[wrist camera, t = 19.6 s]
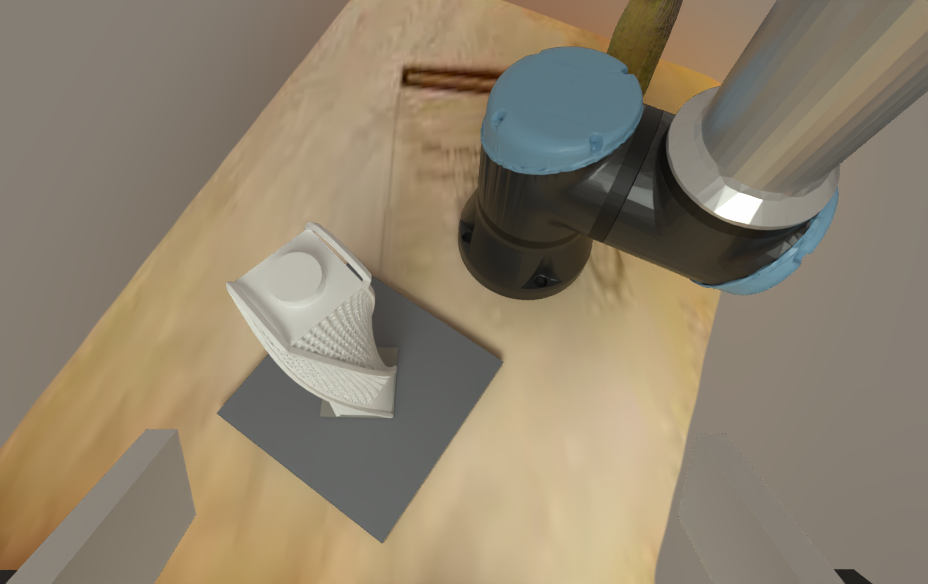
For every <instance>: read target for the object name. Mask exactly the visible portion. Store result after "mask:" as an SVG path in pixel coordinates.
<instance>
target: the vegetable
mask: <svg viewBox="0 0 928 584" xmlns="http://www.w3.org/2000/svg"><path fill="white" fill-rule="evenodd" d="M682 1H683V0H630V1H629V3H628V5H627V7H626V8H625V10H624V12H623V14H622V16H621V18H620V20H619V22H618V24H617V26H616V28H615V31H614V34H613V37H612V39H611V42H610V45H609V48H608V51H607V54H608V55H610V56H612V57H614V58H616V59H618V60H620V61H621V62H622V63H624V64H625V65H626V66H627V67H628V72H627V73H628V74H634V75H635V77H636V78H637V79H638V81H639V84H640V86H641V90H642V97H643V96H644V94H645V92H646V90H647V88H648V86H649V83H650V80H651V78H652V75H653V73H654V70H655V68H656V66H657V64H658V61H659V59H660V56H661V54H662V52H663V49H664V47H665V45H666V43H667V40H668V38H669V36H670V33H671V30H672V28H673V25H674V23H675V21H676V19H677V16H678V13H679V10H680V7H681V5H682Z"/></svg>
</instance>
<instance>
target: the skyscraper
mask: <svg viewBox="0 0 928 584" xmlns="http://www.w3.org/2000/svg"><path fill="white" fill-rule="evenodd" d="M312 230H313V231H315V232H316V233H317V234H319V235H320V236H321V237H322V238H323V239H324V240H326V241H327V242H328V243H329V244H330V245H331V246H332V247H333V248H334V249H335V250H336V251H337V252H338V253H339V254H340V255H341V256H342V257H343V258H344V259H345V260H346V261H347V262H348V263H349V264H350V265H351V266H352V267H353V268H354V269H355V270H356V271H357V273H358V274H359V275H360V276H361V277H362V278H363V281H361V280H360V279H359V278H358V277H357V276H356V275H355V274H354V273H353V272H352V271H351V270H350V269H349V268H348V267H347V266H346V265H345V264H344V263H343V262H342V261H341V260H340V259H339V258H338V257H337V256H336V255H335V253H334V252H333V251H332V250H331V249H330V248H329V247H328V246H327V245H326V244H325V243H324V242H323V241H322V240H321V239H320V238H319V237H318V236H317V235H316V234H315V233H314V232H313V231H312ZM371 276H372V275H371V273H370V272H369V271H368V269H367V268H366V267H365V266H364V265H363V264H362V263H361V262H360V261H359V260H358V259H357V258H356V256H355V255H354V254H353V253H352V252H351V251H350V250H349V249H348V248H347V247H345V246H344V245H343V244H342V243H341V242H340V241H339V240H338V239H337V238H336V237H335V236H334V235H333V234H331V233H330V232H329V231H328V230H327V229H325V228H324V227H323V226H321V225H320V224H318V223H312V222H307V223H306V225H305V229H304V231H303V232H302V233H300V234H299V235H298V236H296V237H295V238H293V239H292V240H291V241H289V242H288V243H287V244H285V245H284V246H283V247H281V248H280V249H278V250H277V251H276V252H274V253H273V254H272V255H270V256H269V257H268V258H266V259H265V260H264V261H262V262H261V263H259V264H258V265H257V266H255V267H254V268H253V269H251V270H250V271H249V272H247V273H246V274H244V275H243V276H242V277H240V278H239V279H238V280H236V281H235V282H228V281H227V284H226V289H227V290H228V292H229V293H230V295H231V297H232V298H233V300H234V302H235V303H236V305H237V307H238V308H239V310H240V312H241V313H242V315H243V316H244V318H245V320H246V321H247V323H248V324H249V326H250V328H251V329H252V331H253V332H254V334H255V335H256V337H257V338H258V339H259V341H260V342H261V344H262V345H263V347H264V348H265V350H266V351H267V352H268V353H269V355H270V356H271V357H272V358H273V360H274V361H275V362H276V363H277V364H278V365H279V367H280V368H281V369H282V370H283V371H284V372H285V373H286V374H287V375H288V376H289V377H291V378H292V379H293V380H294V381H295V382H296V383H298V384H299V385H300V386H302V387H303V388H305V389H306V390H308V391H309V392H311V393H313V394H314V395H316V396H318V397H320V398H322V403H321V411H320V417H349V418H394V405H395V390H396V375H397V360H398V348H394V347H376V345H375V341H374V336H373V330H372V314H373V311H374V306H375V293H374V290H373V288H372V286H371V285H370V283H371Z"/></svg>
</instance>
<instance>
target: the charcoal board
mask: <svg viewBox="0 0 928 584" xmlns="http://www.w3.org/2000/svg"><path fill="white" fill-rule="evenodd" d="M346 266H347V267H348V268H349V269H350V270H351V271H352V272H353V273H354V274H355V275H356V276H357V277H358V278H359V279H360V280H361V281H363V278H362V277H361V276H360V275H359V274H358V273H357V271H356V270H355V269H354V268H353V267H352V266H351V265H350V264H349V263H348V264H347V265H346ZM370 285H371V286H372V288H373V290H374V293H375V306H374V311H373V314H372V330H373V336H374V341H375V345H376V347H394V348H398V360H397V375H396V390H395V405H394V418H349V417H320V411H321V403H322V398H320V397H318V396H316V395H314V394H313V393H311V392H309V391H308V390H306V389H305V388H303V387H302V386H300V385H299V384H298V383H296V382H295V381H294V380H293V379H292V378H291V377H289V376H288V375H287V374H286V373H285V372H284V371H283V370H282V369H281V368H280V367H279V365H278V364H277V363H276V362H275V361H274V360H273V358H272V357H271V356H270V355H269V354H268V355H267V356H266V357H265V358H264V360H263V361H262V362H261V363H260V364H259V365H258V367H257V368H256V369H255V370H254V371H253V372H252V373H251V375H250V376H249V377H248V378H247V379H246V380H245V381H244V383H243V384H242V385H241V386H240V387H239V388H238V389H237V391H236V392H235V393H234V394H233V395H232V396H231V397H230V399H229V400H228V401H227V402H226V403H225V404H224V405H223V407H222V408H221V409H220V410H219V411H218V412H217V414H218V415H219V416H221V417H222V418H223V419H225V420H226V421H227V422H228V423H230V424H231V425H232V426H233V427H235V428H236V429H237V430H238V431H240V432H241V433H242V434H244V435H245V436H246V437H247V438H249V439H250V440H251V441H252V442H254V443H255V444H256V445H258V446H259V447H260V448H261V449H263V450H264V451H265V452H266V453H268V454H269V455H270V456H272V457H273V458H274V459H275V460H277V461H278V462H279V463H280V464H282V465H283V466H284V467H286V468H287V469H288V470H289V471H291V472H292V473H293V474H294V475H296V476H297V477H298V478H299V479H301V480H302V481H303V482H305V483H306V484H307V485H308V486H310V487H311V488H312V489H313V490H315V491H316V492H317V493H319V494H320V495H321V496H322V497H324V498H325V499H326V500H327V501H329V502H330V503H331V504H333V505H334V506H335V507H336V508H338V509H339V510H340V511H341V512H343V513H344V514H345V515H347V516H348V517H349V518H350V519H352V520H353V521H354V522H355V523H357V524H358V525H359V526H360V527H362V528H363V529H364V530H366V531H367V532H368V533H369V534H371V535H372V536H373V537H374V538H376V539H377V540H378V541H380V542H381V543H384V542H385V540H386V539H387V537H388V536H389V534H390V533H391V531H392V530H393V528H394V527H395V525H396V524H397V522H398V521H399V519H400V518H401V516H402V515H403V513H404V512H405V510H406V509H407V507H408V506H409V504H410V503H411V501H412V500H413V498H414V497H415V495H416V494H417V492H418V491H419V489H420V488H421V486H422V485H423V483H424V482H425V480H426V479H427V477H428V476H429V474H430V473H431V471H432V470H433V468H434V467H435V465H436V464H437V462H438V461H439V459H440V458H441V456H442V455H443V453H444V452H445V450H446V449H447V447H448V446H449V444H450V443H451V441H452V440H453V438H454V437H455V435H456V434H457V432H458V431H459V429H460V428H461V426H462V425H463V423H464V422H465V420H466V419H467V417H468V416H469V415H470V413H471V412H472V410H473V409H474V407H475V406H476V404H477V403H478V401H479V400H480V398H481V397H482V395H483V394H484V392H485V391H486V389H487V388H488V386H489V385H490V383H491V382H492V380H493V379H494V377H495V376H496V374H497V373H498V371H499V370H500V368H501V367H502V365H503V361H501V360H500V359H498V358H497V357H495V356H494V355H492V354H491V353H489V352H488V351H486V350H485V349H483V348H482V347H480V346H478V345H477V344H475V343H474V342H472V341H471V340H469V339H468V338H466V337H465V336H463V335H462V334H460V333H459V332H457V331H456V330H454V329H453V328H451V327H450V326H448V325H446V324H445V323H443V322H442V321H440V320H439V319H437V318H436V317H434V316H433V315H431V314H430V313H428V312H427V311H425V310H424V309H422V308H421V307H419V306H418V305H416V304H414V303H413V302H411V301H410V300H408V299H407V298H405V297H404V296H402V295H401V294H399V293H398V292H396V291H395V290H393V289H392V288H390V287H389V286H387V285H386V284H384V283H382V282H381V281H379V280H378V279H376V278H375V277H373V276H371V283H370Z"/></svg>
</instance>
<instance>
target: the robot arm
mask: <svg viewBox="0 0 928 584" xmlns="http://www.w3.org/2000/svg"><path fill="white" fill-rule="evenodd" d="M627 72H628V67H627V66H626V65H625V64H624V63H622V62H621V61H620V60H618V59H616V58H614V57H612V56H610V55H608V54H606V53H604V52H600V51H597V50H594V49H589V48H583V47H556V48H550V49H546V50H542V51H541V52H540V53H539V54H534V55H529V56H526V57H524V58H522V59H520V60H519V61H517V62H516V63H514V64H513V65H511V66H510V67H509V68H508V69H507V70H506V71H505V72H504V73H503V74H502V75H501V76H500V77H499V78H498V80H497V81H496V83H495V85H494V86H493V88H492V90H491V93H490V95H489V99H488V103H487V109H486V115H485V117H484V119H483V122H482V128H481V155H480V168H479V180H478V188H477V189H476V191H475V192H474V193H473V195H472V196H471V198H470V199H469V200H468V202H467V203H466V205H465V207H464V209H463V211H462V214H461V217H460V222H459V232H458V244H459V250H460V254H461V257H462V260H463V262H464V264H465V266H466V267H467V269H468V270H469V272H470V273H471V274H472V276H473V277H474V278H475V279H476V280H477V281H478V282H480V283H481V284H482V285H483V286H485V287H486V288H488V289H489V290H491V291H493V292H495V293H497V294H500V295H502V296H505V297H509V298H513V299H520V300H535V299H542V298H546V297H549V296H552V295H554V294H557V293H559V292H561V291H562V290H564V289H565V288H567V287H568V286H569V285H571V284H572V283H573V282H574V281H575V280H576V278H577V277H578V276H579V275H580V273H581V271H582V270H583V268H584V266H585V264H586V262H587V260H588V258H589V255H590V252H591V248H592V242H593V239H594V240H597V241H599V242H602V243H604V244H606V245H608V246H611V247H613V248H616V249H618V250H621V251H623V252H626V253H628V254H631V255H633V256H635V257H638V258H640V259H643V260H645V261H648V262H650V263H653V264H655V265H658V266H660V267H662V268H665V269H667V270H670V271H672V272H675V273H677V274H679V275H682V276H684V277H686V278H689V279H690V280H691V281H693V282H694V283H696V284H698V285H700V286H703V287H706V288H713V289H718V290H721V291H724V292H727V293H730V294H734V295H752V294H756V293H760V292H763V291H765V290H767V289H769V288H772V287H773V286H775V285H777V284H778V283H780V282H781V281H783V280H784V279H786V278H787V277H788V276H789V275H791V274H792V273H793V272H794V271H795V270H796V269H797V268H798V267H799V266H800V265H801V260H802V257H803V256H804V255H806V254H810V253H812V252H813V251H814V249H815V248H816V247H817V245H818V244H819V242H820V241H821V240H822V238H823V237H824V235H825V233H826V231H827V230H828V228H829V226H830V224H831V221H832V220H833V217H834V214H835V211H836V207H837V203H838V196H839V193H838V181H839V175H840V163H842V162H843V161H844V160H845V159H847V158H848V157H849V156H850V155H851V154H853V153H854V152H855V151H856V150H857V149H858V148H860V147H861V146H862V145H863V144H865V143H866V142H867V141H868V140H869V139H871V138H872V137H873V136H874V135H875V134H877V133H878V132H879V131H880V130H882V129H883V128H884V127H885V126H886V125H887V124H889V123H890V122H891V121H892V120H894V119H895V118H896V117H897V116H898V115H900V114H901V113H902V112H903V111H904V110H906V109H907V108H908V107H909V106H911V105H912V104H913V103H914V102H915V101H916V100H918V99H919V98H920V97H921V96H923V95H924V94H925V93H926V92H927V91H928V0H777V1H776V3H775V4H774V6H773V7H772V9H771V10H770V12H769V13H768V15H767V16H766V18H765V19H764V21H763V22H762V24H761V25H760V27H759V28H758V30H757V31H756V33H755V34H754V36H753V37H752V39H751V41H750V42H749V44H748V45H747V47H746V48H745V50H744V51H743V53H742V54H741V56H740V58H739V59H738V60H737V62H736V63H735V65H734V66H733V68H732V69H731V71H730V72H729V74H728V75H727V77H726V78H725V80H724V82H723V83H722V84H721V86H718V87H714V88H710V89H708V90H705V91H703V92H701V93H699V94H697V95H695V96H693V97H692V98H691V99H690V100H688V101H687V102H686V103H685V104H684V105H683V106H682V107H681V109H680V110H679V111H678V112H677V113H676V115H675V114H672V113H669V112H666V111H663V110H660V109H657V108H655V107H652V106H649V105H646V104H644V103H643V97H642V90H641V86H640V84H639V81H638V79H637V78H636V77H635V75H634V74H628V73H627ZM195 516H196V511H195V507H194V502H193V498H192V493H191V489H190V484H189V480H188V475H187V470H186V466H185V461H184V457H183V452H182V448H181V443H180V439H179V434H178V430H177V429H146V430H145V431H144V432H143V433H142V435H141V436H140V437H139V438H138V439H137V440H136V441H135V442H134V443H133V444H132V446H131V447H130V448H129V449H128V450H127V451H126V452H125V453H124V454H123V455H122V456H121V458H120V459H119V460H118V461H117V462H116V463H115V464H114V465H113V466H112V467H111V469H110V470H109V471H108V472H107V473H106V474H105V475H104V476H103V477H102V478H101V480H100V481H99V482H98V483H97V484H96V485H95V486H94V487H93V488H92V489H91V491H90V492H89V493H88V494H87V495H86V496H85V497H84V498H83V499H82V500H81V501H80V503H79V504H78V505H77V506H76V507H75V508H74V509H73V510H72V511H71V512H70V514H69V515H68V516H67V517H66V518H65V519H64V520H63V521H62V522H61V523H60V525H59V526H58V527H57V528H56V529H55V530H54V531H53V532H52V533H51V534H50V536H49V537H48V538H47V539H46V540H45V541H44V542H43V543H42V544H41V545H40V546H39V548H38V549H37V550H36V551H35V552H34V553H33V554H32V555H31V556H30V557H29V559H28V560H27V561H26V562H25V563H24V564H23V565H22V566H21V567H20V568H19V570H0V584H154V583H155V581H156V580H157V578H158V576H159V575H160V573H161V571H162V570H163V568H164V566H165V565H166V563H167V562H168V560H169V558H170V557H171V555H172V553H173V552H174V550H175V548H176V547H177V545H178V543H179V542H180V540H181V539H182V537H183V535H184V534H185V532H186V530H187V529H188V527H189V525H190V524H191V522H192V521H193V519H194V517H195ZM678 518H679V520H680V522H681V524H682V526H683V528H684V530H685V531H686V533H687V535H688V537H689V539H690V541H691V543H692V545H693V546H694V549H695V550H696V552H697V554H698V556H699V558H700V560H701V562H702V564H703V566H704V568H705V569H706V571H707V573H708V575H709V577H710V579H711V581H712V583H713V584H872V583H871V582H869V581H868V580H867V579H865V578H864V577H863V576H861V575H860V574H859V573H858V572H856V571H855V570H854V569H846V570H845V569H833V568H832V567H831V565H830V564H829V563H828V562H827V560H825V558H824V557H823V556H822V554H821V553H820V552H819V550H818V549H817V548H816V547H815V545H814V544H813V543H812V542H811V540H810V539H809V538H808V536H807V535H806V534H805V533H804V531H803V530H802V529H801V528H800V526H799V525H798V524H797V523H796V521H795V520H794V519H793V518H792V516H791V515H790V514H789V513H788V511H787V510H786V509H785V508H784V506H783V505H782V504H781V503H780V501H779V500H778V499H777V497H776V496H775V495H774V494H773V492H772V491H771V490H770V489H769V487H768V486H767V485H766V484H765V482H764V481H763V480H762V479H761V477H760V476H759V475H758V474H757V472H756V471H755V470H754V468H753V467H752V466H751V465H750V463H749V462H748V461H747V460H746V458H745V457H744V456H743V455H742V453H741V452H740V451H739V450H738V448H737V447H736V446H735V445H734V443H733V442H732V441H731V439H730V438H729V437H728V436H727V434H696V438H695V442H694V447H693V451H692V455H691V460H690V464H689V468H688V473H687V477H686V482H685V486H684V490H683V494H682V499H681V503H680V507H679V512H678Z"/></svg>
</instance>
